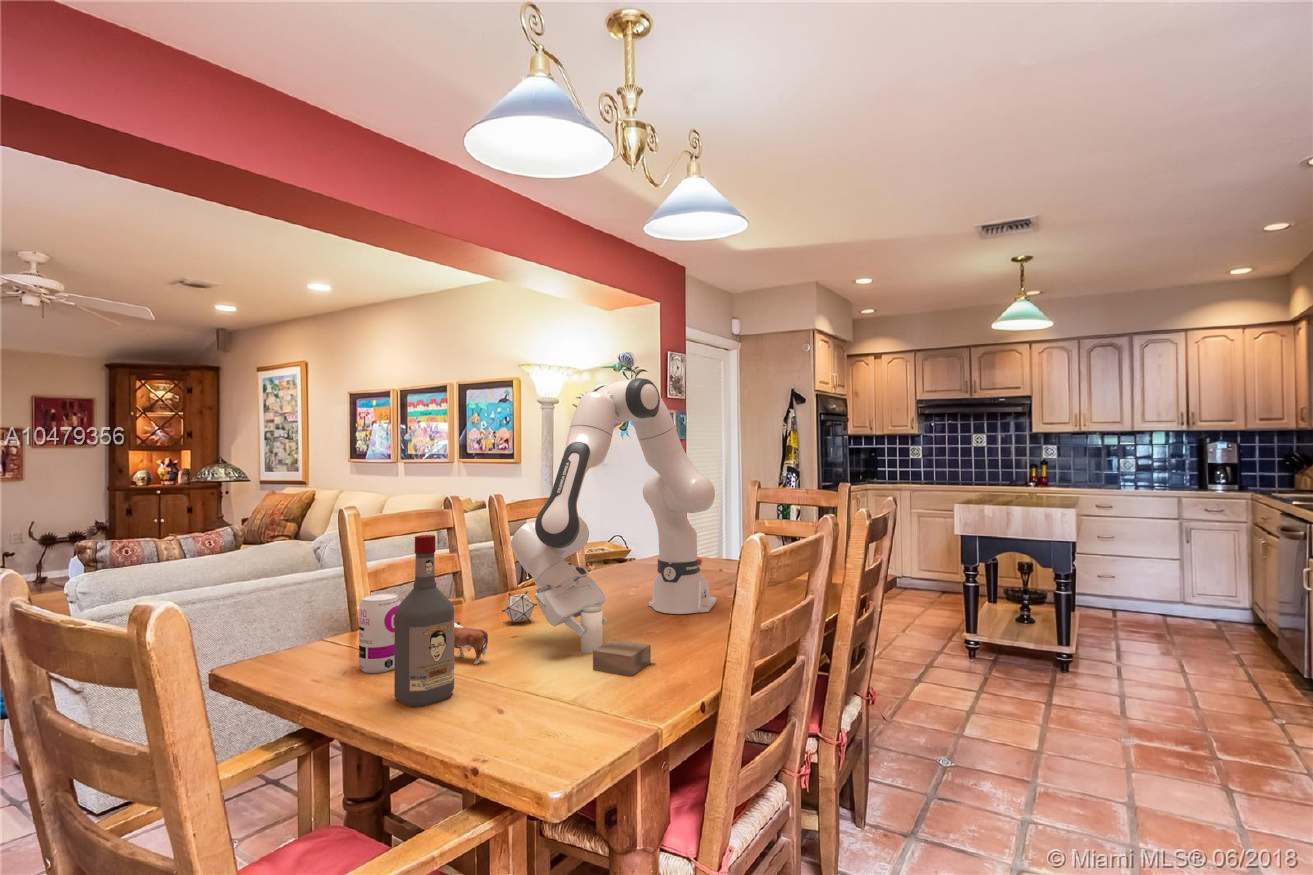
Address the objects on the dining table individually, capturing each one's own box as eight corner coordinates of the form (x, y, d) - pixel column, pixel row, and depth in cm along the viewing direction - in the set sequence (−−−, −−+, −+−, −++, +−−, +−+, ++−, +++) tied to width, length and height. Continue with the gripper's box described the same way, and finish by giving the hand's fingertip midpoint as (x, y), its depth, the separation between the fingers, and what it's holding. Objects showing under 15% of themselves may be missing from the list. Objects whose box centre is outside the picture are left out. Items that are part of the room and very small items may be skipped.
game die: (524, 638, 174) (531, 612, 169) (494, 626, 175) (500, 600, 169) (536, 614, 182) (543, 589, 177) (508, 603, 182) (514, 577, 177)
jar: (588, 645, 155) (588, 603, 155) (606, 648, 153) (606, 606, 153) (576, 651, 150) (576, 608, 151) (595, 654, 148) (595, 610, 148)
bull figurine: (449, 652, 151) (449, 616, 151) (492, 661, 144) (492, 624, 144) (434, 657, 147) (434, 620, 147) (477, 667, 140) (477, 628, 140)
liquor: (389, 697, 123) (389, 536, 123) (433, 684, 130) (434, 532, 130) (414, 710, 117) (415, 541, 117) (459, 695, 124) (460, 535, 124)
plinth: (614, 657, 146) (614, 639, 146) (650, 663, 142) (650, 644, 142) (592, 669, 138) (592, 650, 138) (630, 676, 134) (630, 656, 134)
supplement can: (408, 663, 143) (408, 593, 143) (383, 675, 135) (383, 602, 135) (376, 660, 145) (377, 591, 145) (349, 672, 137) (350, 600, 137)
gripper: (539, 581, 146) (577, 631, 141) (589, 566, 164) (623, 610, 159) (523, 600, 148) (559, 649, 143) (574, 583, 166) (607, 626, 161)
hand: (593, 628), depth 151 cm, fingers open, 7 cm apart
